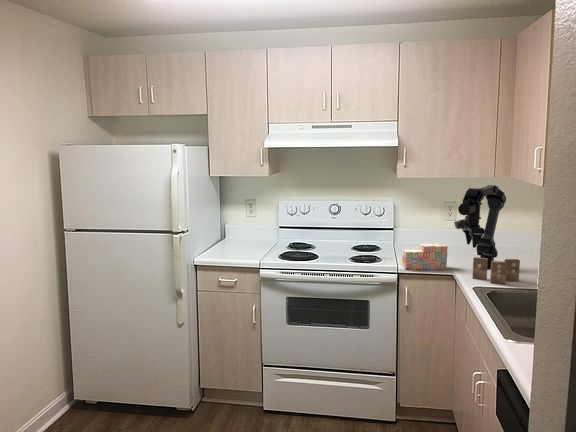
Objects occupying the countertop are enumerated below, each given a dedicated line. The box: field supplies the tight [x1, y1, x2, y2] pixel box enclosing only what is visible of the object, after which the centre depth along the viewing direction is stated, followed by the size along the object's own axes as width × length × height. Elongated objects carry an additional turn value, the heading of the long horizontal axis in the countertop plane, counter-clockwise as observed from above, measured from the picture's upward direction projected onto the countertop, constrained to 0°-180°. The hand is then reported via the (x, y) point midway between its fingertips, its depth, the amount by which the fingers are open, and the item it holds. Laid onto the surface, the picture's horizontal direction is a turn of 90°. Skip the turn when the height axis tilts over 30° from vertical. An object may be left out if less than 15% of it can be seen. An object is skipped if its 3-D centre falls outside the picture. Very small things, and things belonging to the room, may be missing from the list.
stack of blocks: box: [401, 243, 448, 271], centre depth 247 cm, size 21×6×12 cm, turn 92°
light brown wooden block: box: [489, 260, 506, 285], centre depth 219 cm, size 3×6×10 cm, turn 77°
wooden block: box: [472, 256, 488, 281], centre depth 226 cm, size 3×6×10 cm, turn 61°
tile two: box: [503, 258, 521, 282], centre depth 223 cm, size 3×6×10 cm, turn 93°
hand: (471, 246), depth 234 cm, fingers open, 9 cm apart
